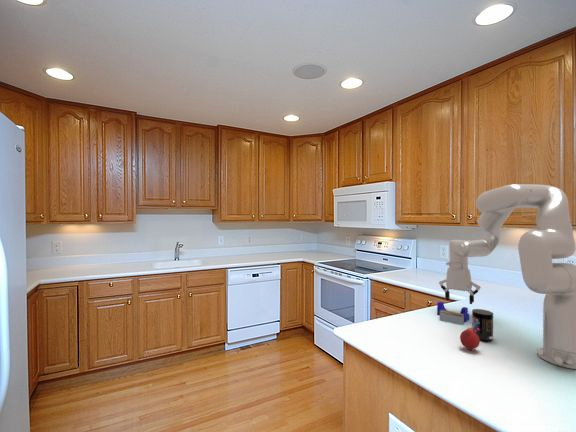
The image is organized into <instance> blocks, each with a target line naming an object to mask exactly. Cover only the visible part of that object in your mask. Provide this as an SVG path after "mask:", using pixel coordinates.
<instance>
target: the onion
mask: <svg viewBox="0 0 576 432" xmlns="http://www.w3.org/2000/svg"><path fill="white" fill-rule="evenodd" d="M459 339H460V343H461V345H462V346H463V347H464V348H466V349H467V350H468V351H472V350H474V349H477V348H478V347H479V345H480V343H481V341H480V339H479V337H478V335H477V334H476V333H475V332H474V331H473V330H472V326H469V327H468V328H466V329H465V330H463V331H462V332H461V333H460V336H459Z"/></svg>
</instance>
